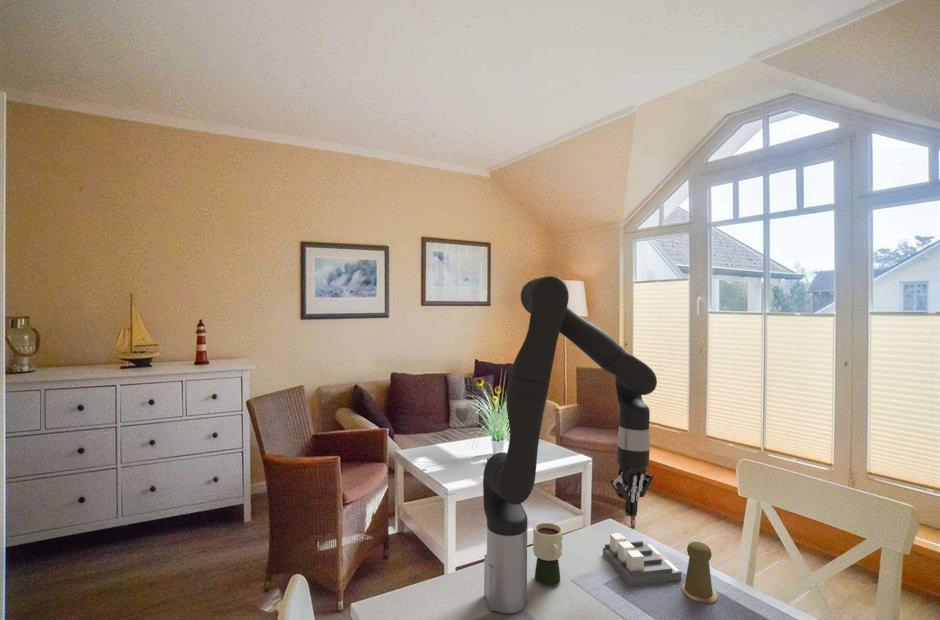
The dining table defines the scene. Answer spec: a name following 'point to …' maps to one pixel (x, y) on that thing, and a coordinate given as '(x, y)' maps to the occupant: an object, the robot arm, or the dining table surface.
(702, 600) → the cork coaster
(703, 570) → the pepper shaker
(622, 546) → the tab middle
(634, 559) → the tab front
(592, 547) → the dining table surface
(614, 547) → the tab back
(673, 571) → the switch panel
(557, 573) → the character mug
